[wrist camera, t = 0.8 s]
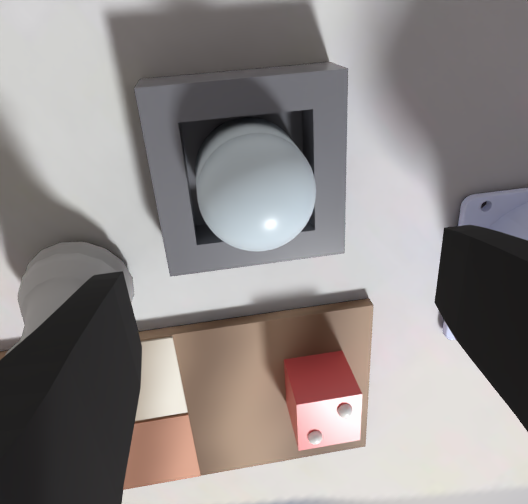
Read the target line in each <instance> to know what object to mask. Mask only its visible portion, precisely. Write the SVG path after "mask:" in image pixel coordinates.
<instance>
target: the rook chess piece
mask: <svg viewBox="0 0 528 504" xmlns="http://www.w3.org/2000/svg"><path fill="white" fill-rule="evenodd" d="M120 271H123V273H124V277H125V281H126V285H127V289H128V293H129V297H130V301H131V302H132V299H133V297H134V287H133V277H132V276H131V274H130V272H129V271H128V269H127V268H126V266H125V264H124V263H123V261H122V260H120V259H119V258H118V257H116V256H115V255H114V254H112V253H111V252H110V251H108V250H107V249H106V248H102V247H99V246H96V245H93V244H90V243H86V242H60V243H58V244H55V245H53V246H51V247H48V248H46V249H43V250H41V251H40V252H39V253H38V254H37V255H36V256H35V257H34V258H33V259H32V260H31V261H30V262H29V263H28V265H27V268H26V272H25V274H24V275H23V277H22V280H21V284H20V288H19V291H18V302H19V306H20V310H21V315H22V317H23V321H24V325H25V326H24V330H23V333H22V337H21V339H20V341H19V342H17V343H16V344H15V345H14V346H13V347H12V348H11V349H10V350H9V351H8V352H7V353H6V354H5V355H7V354H8V353H9V352H10V351H11V350H12V349H14V348H15V347H16V346H17V345H18V344H19V343H21V342H22V341H23V340H24V339H25V338H26V337H27V336H29V335H30V334H31V333H32V332H33V331H34V330H36V329H37V328H38V327H39V326H40V325H41V324H42V323H43V322H44V321H45V320H46V319H47V318H48V317H49V316H51V315H52V314H53V313H54V312H55V311H56V310H57V309H58V308H59V307H60V306H61V305H62V304H63V303H64V302H65V301H66V300H67V299H68V298H69V297H70V296H71V295H72V294H73V293H75V292H76V291H77V290H78V289H79V288H80V287H81V286H82V285H83V284H84V283H85V282H86V281H87V280H88V279H90V278H91V277H92V276H93V275H98V274H105V273H113V272H120Z"/></svg>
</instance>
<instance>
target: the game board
mask: <svg viewBox="0 0 528 504" xmlns="http://www.w3.org/2000/svg"><path fill="white" fill-rule="evenodd" d="M372 320H373V304H372V302H371V301H370V299H362V300H355V301H348V302H341V303H334V304H327V305H320V306H313V307H306V308H299V309H293V310H286V311H279V312H272V313H265V314H258V315H251V316H244V317H237V318H230V319H223V320H216V321H209V322H203V323H196V324H189V325H182V326H175V327H168V328H161V329H154V330H147V331H140V332H138V333H139V336H140V340H141V344H142V367H141V388H140V394H139V400H138V406H137V412H136V418H135V424H134V429H133V435H132V441H131V446H130V452H129V458H128V464H127V469H126V475H125V481H124V487H123V490H124V489H130V488H136V487H141V486H147V485H153V484H158V483H164V482H169V481H175V480H181V479H186V478H192V477H197V476H201V475H206V474H212V473H218V472H223V471H229V470H235V469H240V468H246V467H251V466H257V465H263V464H268V463H274V462H280V461H285V460H291V459H296V458H302V457H308V456H313V455H319V454H324V453H330V452H336V451H341V450H347V449H353V448H358V447H364V446H365V444H366V426H367V408H368V391H369V373H370V355H371V338H372ZM335 351H343V353H344V355H345V357H346V360H347V362H348V364H349V366H350V368H351V370H352V373H353V375H354V377H355V379H356V381H357V383H358V386H359V388H360V390H361V392H362V412H361V433H360V440H357V441H352V442H346V443H340V444H335V445H329V446H323V447H318V448H312V449H306V450H301V451H298V447H297V443H296V439H295V435H294V431H293V427H292V423H291V419H290V415H289V412H288V408H287V404H286V389H285V373H284V359H290V358H297V357H303V356H309V355H316V354H322V353H329V352H335ZM7 352H8V351H2V352H0V360H1V359H2V358H3V357H4V356H5V354H6V353H7Z"/></svg>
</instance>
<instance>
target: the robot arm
mask: <svg viewBox="0 0 528 504" xmlns="http://www.w3.org/2000/svg"><path fill="white" fill-rule="evenodd" d="M485 201H487V203H486V205H485V206H484V207H483V208H481V205H482V203H483V202H485ZM435 304H436V306H437V308H438V309H439V311H440V313H441V315H442V317H443V319H444V324H443V334H444V335H445V337H446V338H447V339H449V340H457V341H458V343H459V344H460V345H461V347H462V348H463V349H464V350H465V352H466V353H467V354H468V356H469V357H470V358H471V359H472V361H473V362H474V363H475V365H476V366H477V367H478V368H479V370H480V371H481V372H482V373H483V375H484V376H485V377H486V378H487V380H488V381H489V382H490V383H491V385H492V386H493V387H494V388H495V390H496V391H497V392H498V394H499V395H500V396H501V397H502V399H503V400H504V401H505V402H506V404H507V405H508V406H509V407H510V409H511V410H512V411H513V412H514V414H515V415H516V416H517V418H518V419H519V420H520V422H521V423H522V424H523V426H524V427H525V429H526V430H527V431H528V188H520V189H512V190H504V191H496V192H488V193H480V194H472V195H469V196H468V197H466V198H465V199H464V200H463V202H462V204H461V209H460V216H459V222H458V226H456V227H448V228H444V234H443V242H442V249H441V257H440V265H439V273H438V281H437V289H436V296H435ZM141 367H142V344H141V340H140V336H139V333H138V329H137V325H136V321H135V317H134V313H133V309H132V305H131V301H130V297H129V293H128V289H127V285H126V281H125V277H124V273H123V271H120V272H113V273H105V274H98V275H93V276H92V277H91V278H90V279H88V280H87V281H86V282H85V283H84V284H83V285H82V286H81V287H80V288H79V289H78V290H77V291H76V292H75V293H73V294H72V295H71V296H70V297H69V298H68V299H67V300H66V301H65V302H64V303H63V304H62V305H61V306H60V307H59V308H58V309H57V310H56V311H55V312H54V313H53V314H52V315H51V316H49V317H48V318H47V319H46V320H45V321H44V322H43V323H42V324H41V325H40V326H39V327H38V328H37V329H36V330H34V331H33V332H32V333H31V334H30V335H29V336H27V337H26V338H25V339H24V340H23V341H22V342H21V343H19V344H18V345H17V346H16V347H15V348H14V349H12V350H11V351H10V352H9V353H8V354H7V355H5V356H4V357H3V358H2V359H1V360H0V504H121V502H122V494H123V487H124V481H125V475H126V469H127V464H128V458H129V452H130V446H131V441H132V435H133V429H134V424H135V418H136V412H137V406H138V400H139V394H140V388H141Z"/></svg>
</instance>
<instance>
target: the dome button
mask: <svg viewBox="0 0 528 504" xmlns="http://www.w3.org/2000/svg"><path fill="white" fill-rule="evenodd" d="M195 172H196V188H197V200H198V205H199V209H200V212H201V215H202V217H203V219H204V221H205V222H206V224H207V225H208V227H209V228H210V230H211V231H212V232H213V233H214V234H215V235H216V236H217V237H218V238H220V239H221V240H222V241H224V242H225V243H227V244H229V245H231V246H233V247H235V248H238V249H242V250H247V251H267V250H272V249H275V248H278V247H280V246H283V245H284V244H286V243H288V242H290V241H291V240H292V239H294V238H295V237H296V236H297V235H298V234H299V233H300V232H301V231H302V229H303V228H304V227H305V226H306V224H307V222H308V221H309V219H310V217H311V215H312V212H313V209H314V205H315V200H316V183H315V178H314V174H313V171H312V168H311V166H310V164H309V162H308V161H307V159H306V157H305V156H304V155H303V153H302V152H301V151H300V149H299V148H298V147H297V146H296V145H295V143H294V142H293V141H292V140H291V138H290V137H289V136H288V135H287V134H286V133H285V132H284V131H283V130H282V129H281V128H280V127H278V126H277V125H275V124H273V123H272V122H269V121H267V120H264V119H260V118H253V117H243V118H238V119H234V120H231V121H228V122H226V123H224V124H222V125H220V126H219V127H217V128H216V129H215V130H214V131H212V132H211V133H210V134H209V136H208V137H207V138H206V139H205V141H204V142H203V144H202V146H201V148H200V149H199V152H198V155H197V159H196V167H195Z"/></svg>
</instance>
